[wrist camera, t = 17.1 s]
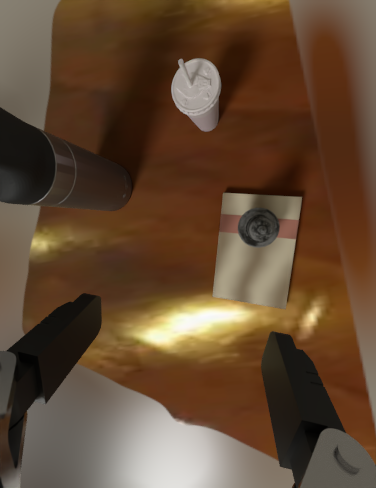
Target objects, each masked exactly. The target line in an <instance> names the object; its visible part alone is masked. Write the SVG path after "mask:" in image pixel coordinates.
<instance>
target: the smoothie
mask: <svg viewBox="0 0 376 488" xmlns="http://www.w3.org/2000/svg"><path fill="white" fill-rule="evenodd" d="M178 63H179V66H180V68H179V69H178V71H177V72H176V74H175V76H174V78H173V81H172V87H171V92H172V97H173V100H174V102H175V104H176V106H177V107H178V109H179V110H180V111H181V112H183V113H184V114H187V115H188V116H189V117H190V119H191V120H192V121H193V122H194V123H195V124H196V125H197V126H198V127H199V128H200V129H201V130H202V131H211V130H213V129H214V128H215V127H216V125H217V123H218V119H219V95H220V91H221V79H220V76H219V73H218V70H217V68H216V67H215V65H214V64H213V63H211V62H210V61H208V60H206V59H201V58H197V59H192V60H190V61H188V62H186V63H185V64H184V61H183V59H179V61H178Z"/></svg>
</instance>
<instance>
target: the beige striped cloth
mask: <svg viewBox="0 0 376 488" xmlns="http://www.w3.org/2000/svg"><path fill="white" fill-rule="evenodd" d="M301 202H302V197H291V196H272V195H254V194H236V193H223V200H222V210H221V220H220V229H219V239H218V249H217V259H216V269H215V278H214V288H213V297H218V298H224V299H229V300H235V301H241V302H247V303H252V304H258V305H264V306H270V307H276V308H281V309H286V303H287V296H288V289H289V283H290V276H291V269H292V263H293V256H294V249H295V242H296V236H297V229H298V223H299V215H300V209H301ZM253 208H265V209H268V210H270V211H272V212H273V213H274V214H275V215H276V217H277V218H278V220H279V224H280V230H279V234H278V236H277V238H276V239H275V241H273V242H272V243H271V244H270V245H268V246H265V247H261V248H256V247H251V246H249V245H247V244H245V243H244V242H243V241H242V240H241V238H240V236H239V233H238V223H239V220H240V218H241V217H242V215H243V214H244V213H245V212H246V211H248V210H250V209H253Z"/></svg>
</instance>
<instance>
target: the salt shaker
mask: <svg viewBox="0 0 376 488" xmlns="http://www.w3.org/2000/svg"><path fill="white" fill-rule="evenodd" d="M279 230H280V224H279V220H278V218H277V217H276V215H275V214H274V213H273V212H272V211H270V210H268V209H265V208H253V209H250V210H248V211H246V212H245V213H244V214H243V215H242V217H241V218H240V220H239V223H238V233H239V236H240V238H241V240H242V241H243V242H244V243H245V244H247V245H249V246H251V247H256V248H261V247H265V246H268V245H270V244H271V243H272V242H273V241H275V239H276V238H277V236H278V234H279Z"/></svg>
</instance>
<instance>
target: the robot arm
mask: <svg viewBox="0 0 376 488" xmlns="http://www.w3.org/2000/svg"><path fill="white" fill-rule="evenodd" d="M131 191H132V183H131V178H130V176H129V174H128V172H127V171H126V170H125V169H124V168H123V167H122V166H120V165H119V164H117V163H114V162H112V161H110V160H108V159H106V158H103V157H101V156H99V155H97V154H94V153H92V152H90V151H88V150H86V149H83V148H81V147H79V146H77V145H74V144H72V143H70V142H68V141H65V140H63V139H61V138H59V137H56V136H54V135H52V134H49V133H47V132H45V131H43V130H41V129H38V128H36V127H34V126H32V125H29V124H27V123H25V122H23V121H22V120H20V119H18V118H17V117H15V116H13V115H12V114H10V113H8V112H7V111H5V110H3V109H2V108H0V201H1V202H5V203H11V204H23V205H37V206H51V207H65V208H78V209H91V210H104V211H115V210H118V209H120V208H122V207H123V206H124V205H125V204H126V203H127V202H128V200H129V198H130V195H131ZM101 322H102V319H101V298H100V296H96V295H91V294H86V293H83V294H82V295H80V296H79V297H78V298H77V299H76V300H75V301H74V302H68V303H66V304H64V305H62V306H60V307H58V308H56V309H55V310H54V311H53V312H52V313H51V314H49V315H48V317H46V318H45V319H43V320H42V321H41V323H40V324H38V325H36V326H35V327H34V328H33V329H32V330H30V331H29V332H28V333H27V334H26V335H25V336H23V337H22V338H21V339H20V340H19V341H18V342H16V343H15V344H14V345H13V346H12V347H10V348H9V349H8V350H7V351H0V488H20V474H21V465H22V456H23V448H24V438H25V431H26V423H27V410H28V408H29V407H30V406H31V405H32V404H33V402H38V403H42V404H46V403H47V402H48V400H49V399H50V398H51V396H52V395H53V394H54V392H55V391H56V390H57V388H58V387H59V386H60V384H61V383H62V382H63V380H64V379H65V378H66V376H67V375H68V374H69V372H70V371H71V370H72V368H73V367H74V366H75V364H76V363H77V362H78V360H79V359H80V358H81V356H82V355H83V354H84V352H85V351H86V350H87V348H88V347H89V346H90V344H91V343H92V342H93V340H94V339H95V338H96V336H97V335H98V333H99V331H100V328H101ZM261 370H262V376H263V381H264V386H265V392H266V397H267V402H268V407H269V412H270V417H271V423H272V428H273V433H274V438H275V443H276V448H277V453H278V459H279V464H280V467H284V468H288V469H291V470H292V472H293V476H294V481H295V483H294V485H293V486H292V488H376V465H375V464H374V462H373V460H372V458H371V457H370V456H369V454H368V453H367V451H366V450H365V449H364V448H363V447H362V446H361V445H360V444H359V443H358V442H357V441H356V440H355V439H353V438H352V437H351V436H349V435H348V434H346V432H345V430H344V428H343V426H342V423H341V421H340V419H339V417H338V415H337V413H336V411H335V409H334V406H333V404H332V402H331V400H330V398H329V396H328V394H327V391H326V389H325V387H323V383H322V381H321V379H320V376H318V372H317V370H316V368H315V366H314V364H313V362H312V360H311V359H310V358H309V357H308V356H307V355H306V353H305V352H304V351H303V350H299V349H296V347H295V344H294V342H293V339H292V337H291V336H290V335H288V334H283V333H278V332H273V331H272V332H271V333H270V335H269V338H268V341H267V344H266V347H265V351H264V354H263V357H262V363H261Z"/></svg>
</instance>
